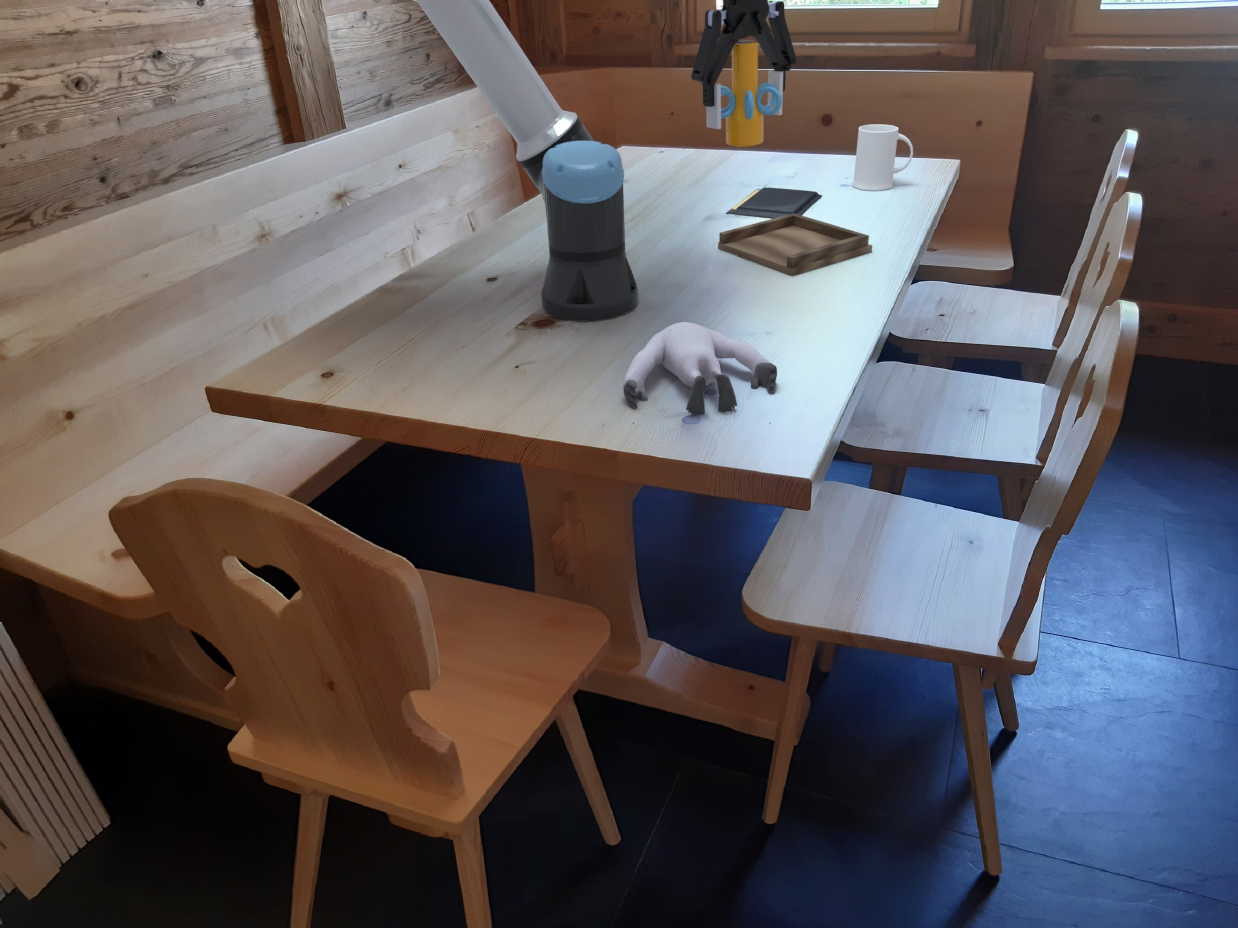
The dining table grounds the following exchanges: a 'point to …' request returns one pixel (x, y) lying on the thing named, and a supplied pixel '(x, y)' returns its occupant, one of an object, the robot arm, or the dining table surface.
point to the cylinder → (747, 98)
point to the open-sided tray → (794, 243)
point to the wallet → (775, 203)
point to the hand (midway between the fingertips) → (744, 121)
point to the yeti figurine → (696, 364)
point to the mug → (877, 157)
